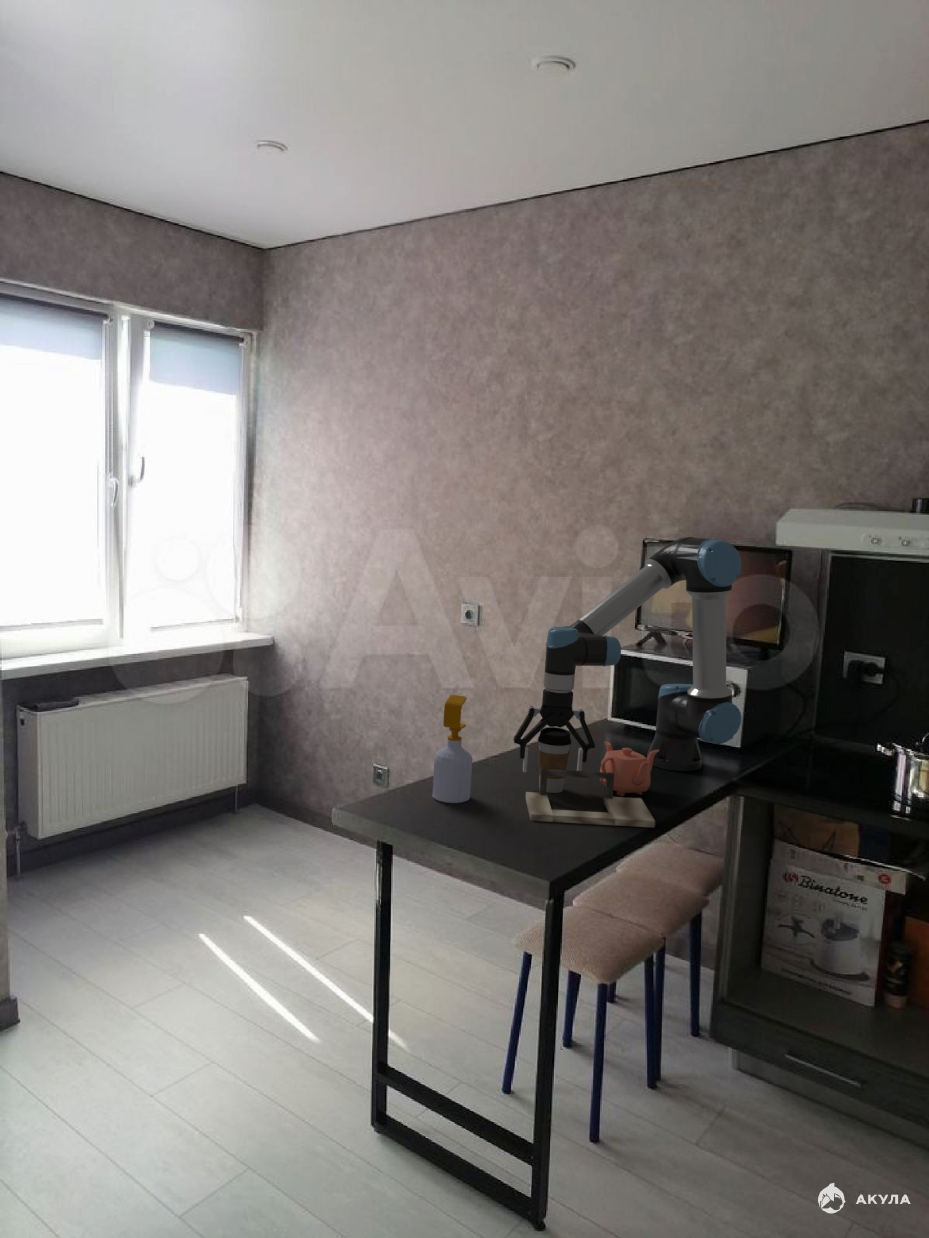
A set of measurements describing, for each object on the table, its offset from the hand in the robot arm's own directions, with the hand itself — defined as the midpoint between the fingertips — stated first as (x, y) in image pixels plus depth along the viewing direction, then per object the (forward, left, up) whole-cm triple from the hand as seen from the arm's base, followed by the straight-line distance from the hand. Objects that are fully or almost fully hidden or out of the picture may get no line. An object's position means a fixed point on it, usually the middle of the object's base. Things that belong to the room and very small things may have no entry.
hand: (551, 772), depth 228 cm
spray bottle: (+25, +11, -4) cm, 27 cm away
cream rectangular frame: (-7, +16, -4) cm, 18 cm away
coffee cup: (0, 0, -4) cm, 4 cm away
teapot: (-20, -3, -5) cm, 21 cm away
